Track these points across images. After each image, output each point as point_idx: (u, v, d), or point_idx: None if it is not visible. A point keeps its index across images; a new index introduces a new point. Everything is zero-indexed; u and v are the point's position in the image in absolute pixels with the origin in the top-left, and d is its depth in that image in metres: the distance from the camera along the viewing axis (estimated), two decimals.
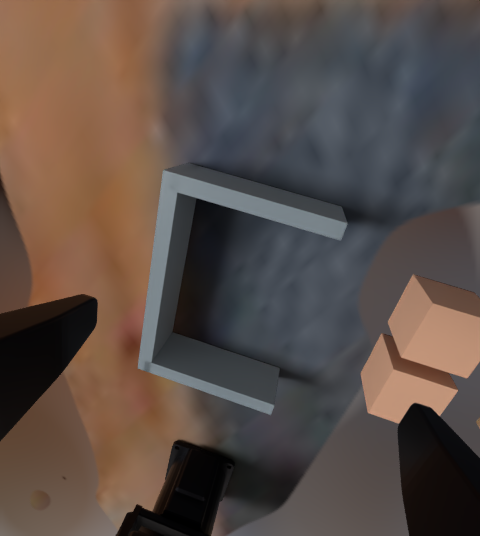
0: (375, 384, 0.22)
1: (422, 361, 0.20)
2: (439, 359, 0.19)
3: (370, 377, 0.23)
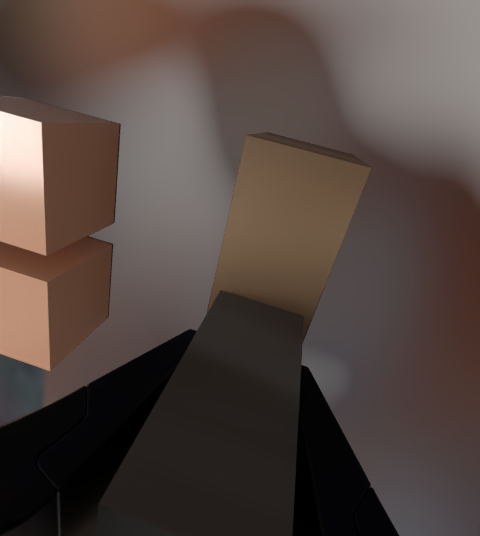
0: None
1: None
2: None
3: None
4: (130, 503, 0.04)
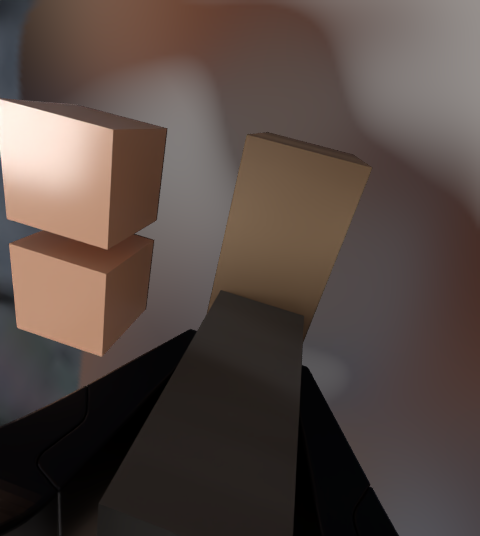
0: None
1: (37, 223, 0.12)
2: (56, 216, 0.11)
3: None
4: (130, 503, 0.04)
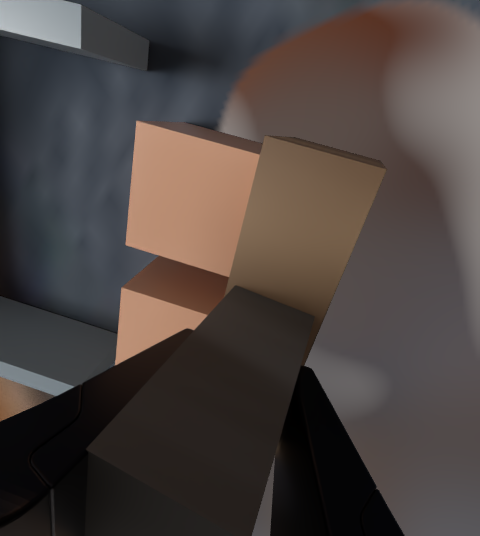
0: None
1: (160, 250, 0.11)
2: (183, 243, 0.11)
3: None
4: (113, 453, 0.05)
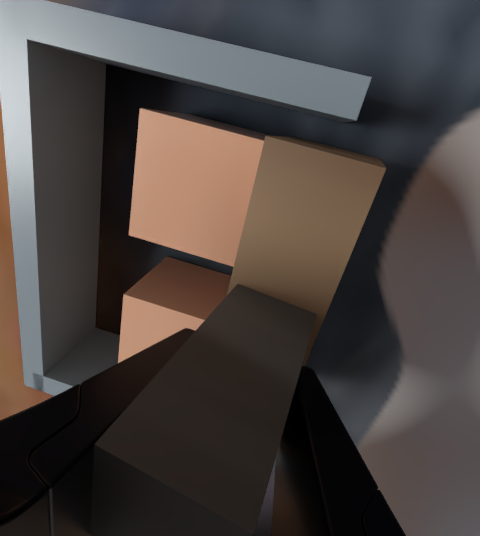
0: None
1: (163, 240, 0.11)
2: (187, 233, 0.11)
3: None
4: (121, 448, 0.05)
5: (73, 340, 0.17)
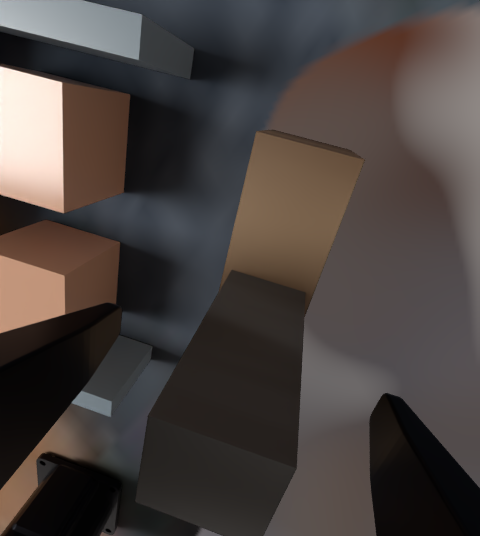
0: None
1: None
2: (10, 178, 0.11)
3: None
4: (172, 416, 0.05)
5: None
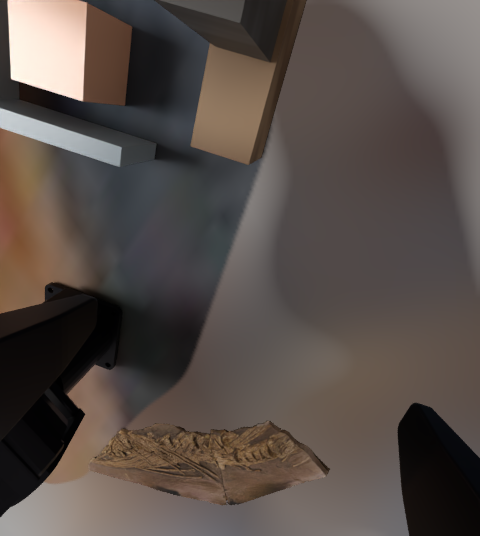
0: None
1: None
2: None
3: None
4: None
5: None
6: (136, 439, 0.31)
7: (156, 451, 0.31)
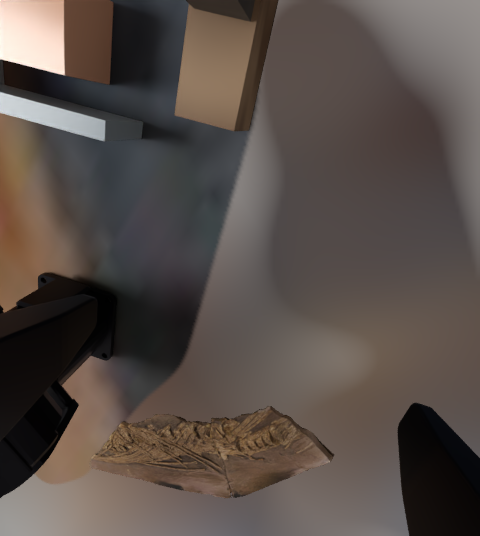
0: None
1: None
2: None
3: None
4: None
5: None
6: (137, 432, 0.31)
7: (157, 443, 0.31)
